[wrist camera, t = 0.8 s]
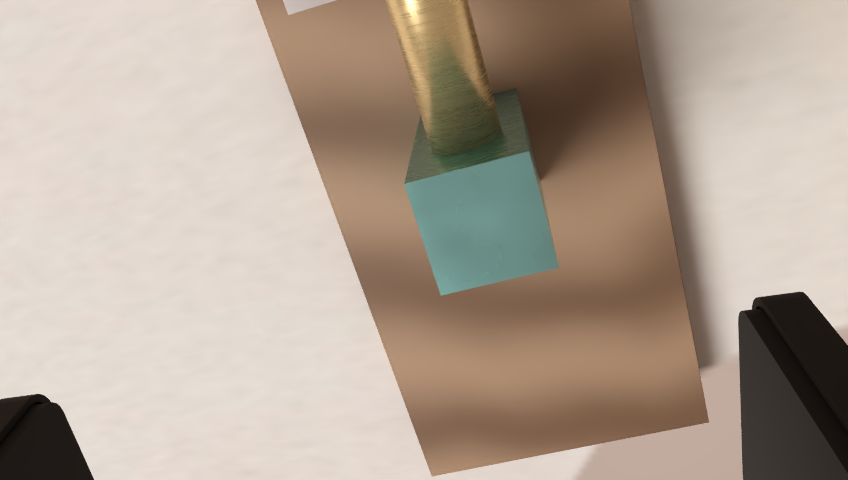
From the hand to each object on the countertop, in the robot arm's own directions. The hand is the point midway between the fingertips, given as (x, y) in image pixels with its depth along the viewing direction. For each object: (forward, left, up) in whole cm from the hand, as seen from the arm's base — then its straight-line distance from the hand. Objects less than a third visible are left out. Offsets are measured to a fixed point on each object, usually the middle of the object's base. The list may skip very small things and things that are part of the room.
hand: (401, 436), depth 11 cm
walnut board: (-1, 0, -20) cm, 20 cm away
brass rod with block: (+2, -5, -19) cm, 19 cm away
